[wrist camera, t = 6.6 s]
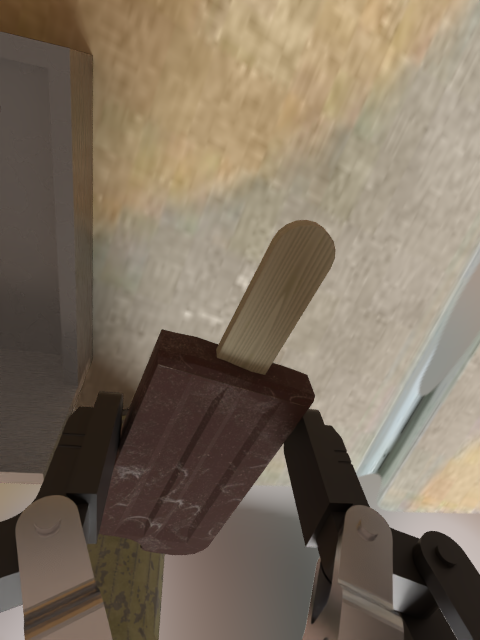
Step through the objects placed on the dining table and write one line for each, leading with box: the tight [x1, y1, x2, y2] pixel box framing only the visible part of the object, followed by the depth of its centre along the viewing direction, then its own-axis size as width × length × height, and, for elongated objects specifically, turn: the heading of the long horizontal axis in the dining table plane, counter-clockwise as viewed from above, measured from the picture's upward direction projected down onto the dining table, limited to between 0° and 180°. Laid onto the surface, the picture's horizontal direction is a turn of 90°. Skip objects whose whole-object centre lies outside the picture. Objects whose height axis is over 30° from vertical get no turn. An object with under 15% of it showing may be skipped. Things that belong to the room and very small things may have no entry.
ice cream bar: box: [99, 220, 335, 555], centre depth 13 cm, size 5×2×15 cm
